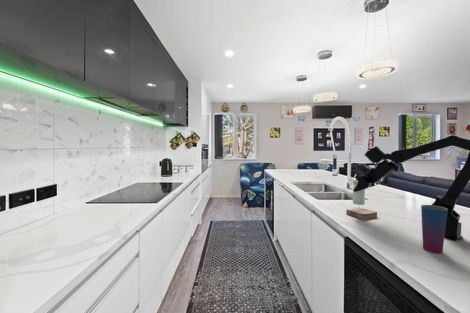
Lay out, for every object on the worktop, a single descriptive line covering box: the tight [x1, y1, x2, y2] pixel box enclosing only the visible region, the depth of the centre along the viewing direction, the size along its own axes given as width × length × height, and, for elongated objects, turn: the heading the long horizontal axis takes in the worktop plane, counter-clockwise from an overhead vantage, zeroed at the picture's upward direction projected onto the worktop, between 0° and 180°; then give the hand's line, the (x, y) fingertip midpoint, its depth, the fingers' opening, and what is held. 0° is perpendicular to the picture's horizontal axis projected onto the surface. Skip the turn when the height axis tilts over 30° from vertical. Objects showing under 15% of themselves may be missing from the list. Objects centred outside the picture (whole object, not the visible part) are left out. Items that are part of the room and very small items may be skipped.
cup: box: [420, 204, 448, 254], centre depth 76 cm, size 7×7×15 cm
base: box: [345, 206, 378, 220], centre depth 115 cm, size 10×10×2 cm
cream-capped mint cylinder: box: [352, 179, 366, 206], centre depth 112 cm, size 5×5×12 cm
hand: (356, 190), depth 113 cm, fingers closed on cream-capped mint cylinder, 5 cm apart
